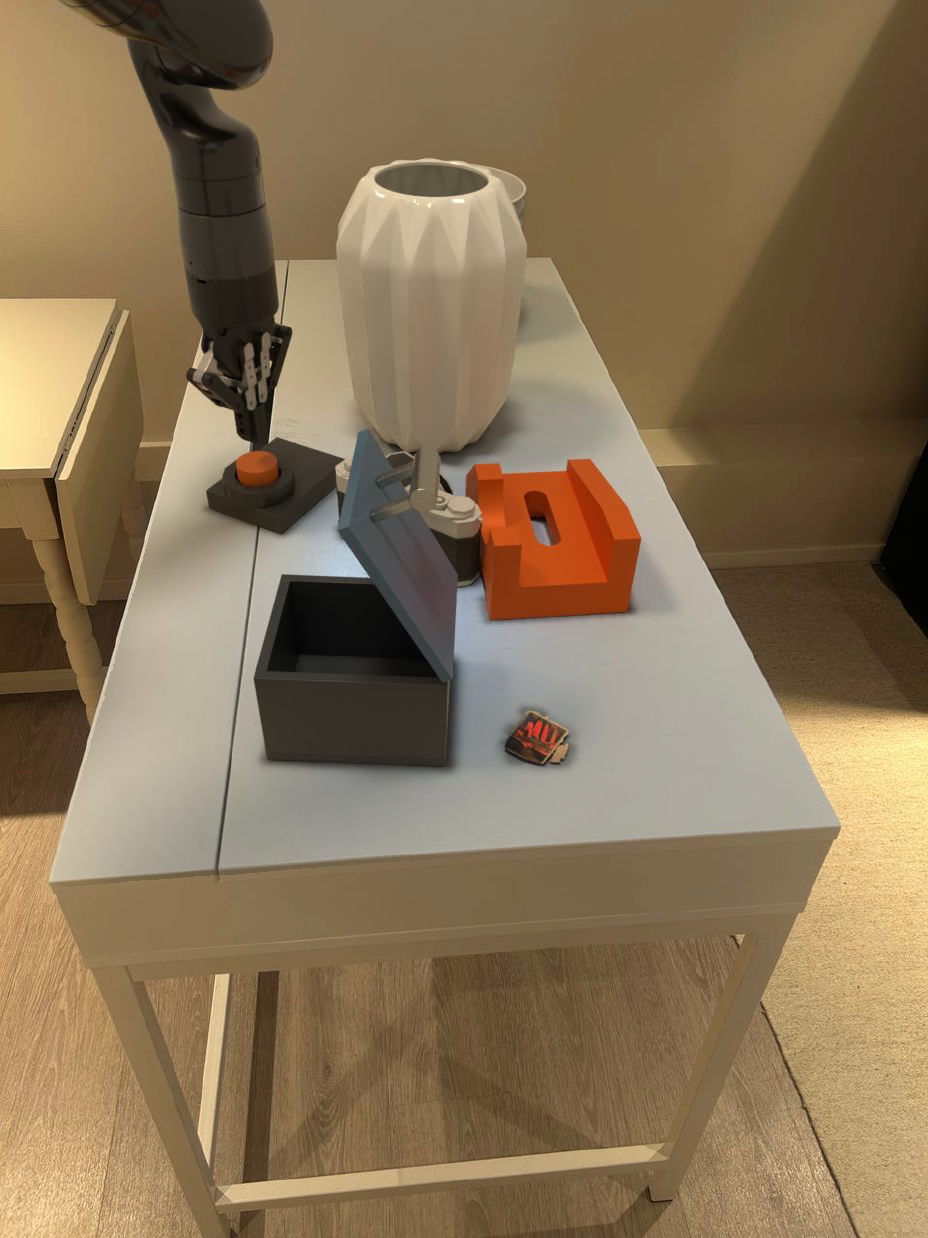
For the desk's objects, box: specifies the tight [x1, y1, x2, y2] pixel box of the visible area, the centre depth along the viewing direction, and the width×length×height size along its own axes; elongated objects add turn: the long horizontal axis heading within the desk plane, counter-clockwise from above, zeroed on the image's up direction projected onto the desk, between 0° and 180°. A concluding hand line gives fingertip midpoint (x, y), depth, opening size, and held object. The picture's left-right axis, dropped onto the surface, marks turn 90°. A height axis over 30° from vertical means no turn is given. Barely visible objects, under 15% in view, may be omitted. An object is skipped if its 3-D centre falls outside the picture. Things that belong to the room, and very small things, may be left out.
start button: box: [236, 450, 279, 486], centre depth 93 cm, size 4×4×2 cm
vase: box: [335, 157, 528, 455], centre depth 99 cm, size 20×20×28 cm
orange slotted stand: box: [464, 458, 642, 621], centre depth 88 cm, size 18×13×8 cm
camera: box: [335, 450, 483, 588], centre depth 89 cm, size 16×9×10 cm, turn 58°
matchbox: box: [504, 709, 570, 765], centre depth 73 cm, size 5×5×1 cm
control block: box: [205, 436, 346, 535], centre depth 96 cm, size 12×9×4 cm
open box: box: [253, 573, 451, 767], centre depth 73 cm, size 14×12×9 cm
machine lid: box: [337, 427, 458, 683], centre depth 64 cm, size 14×12×5 cm
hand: (252, 437), depth 91 cm, fingers closed
